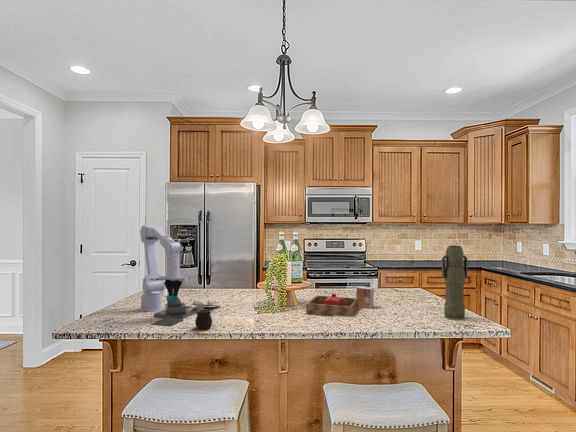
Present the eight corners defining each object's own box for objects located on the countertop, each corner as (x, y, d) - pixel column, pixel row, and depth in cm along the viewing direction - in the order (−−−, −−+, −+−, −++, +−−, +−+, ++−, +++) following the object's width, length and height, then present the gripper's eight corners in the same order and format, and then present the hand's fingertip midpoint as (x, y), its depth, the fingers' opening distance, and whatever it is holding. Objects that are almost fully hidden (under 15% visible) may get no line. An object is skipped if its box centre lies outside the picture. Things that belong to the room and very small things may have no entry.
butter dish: (328, 306, 208) (328, 290, 208) (348, 308, 202) (348, 292, 202) (319, 310, 198) (319, 294, 198) (339, 313, 192) (339, 296, 192)
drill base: (154, 316, 183) (154, 313, 183) (169, 310, 195) (169, 307, 195) (182, 319, 178) (182, 316, 178) (196, 313, 190) (196, 310, 190)
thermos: (437, 317, 183) (437, 245, 184) (460, 316, 185) (460, 245, 186) (448, 322, 175) (448, 246, 175) (471, 321, 177) (471, 246, 177)
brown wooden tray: (306, 313, 190) (306, 303, 190) (316, 304, 211) (316, 295, 211) (351, 317, 183) (352, 307, 183) (358, 307, 203) (358, 298, 203)
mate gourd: (197, 326, 167) (197, 303, 167) (214, 326, 167) (214, 303, 167) (193, 331, 160) (193, 307, 160) (210, 331, 160) (211, 307, 160)
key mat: (151, 324, 170) (151, 323, 170) (165, 319, 179) (165, 318, 179) (170, 326, 166) (170, 325, 166) (183, 321, 176) (183, 319, 176)
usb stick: (169, 310, 185) (165, 299, 182) (169, 307, 187) (164, 296, 184) (182, 305, 187) (177, 294, 183) (181, 302, 189) (177, 291, 185)
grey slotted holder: (166, 314, 181) (166, 308, 181) (165, 310, 189) (165, 304, 189) (200, 311, 187) (200, 305, 187) (198, 307, 195) (198, 301, 195)
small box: (356, 307, 205) (356, 287, 205) (359, 305, 210) (359, 286, 210) (370, 309, 201) (370, 289, 201) (373, 306, 206) (373, 287, 206)
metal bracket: (214, 300, 192) (185, 300, 193) (213, 312, 190) (184, 311, 191) (222, 302, 205) (195, 302, 207) (221, 314, 204) (193, 313, 205)
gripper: (191, 267, 183) (191, 295, 183) (165, 266, 188) (165, 293, 187) (182, 268, 176) (182, 298, 176) (156, 267, 181) (156, 296, 181)
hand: (173, 296), depth 181 cm, fingers closed
